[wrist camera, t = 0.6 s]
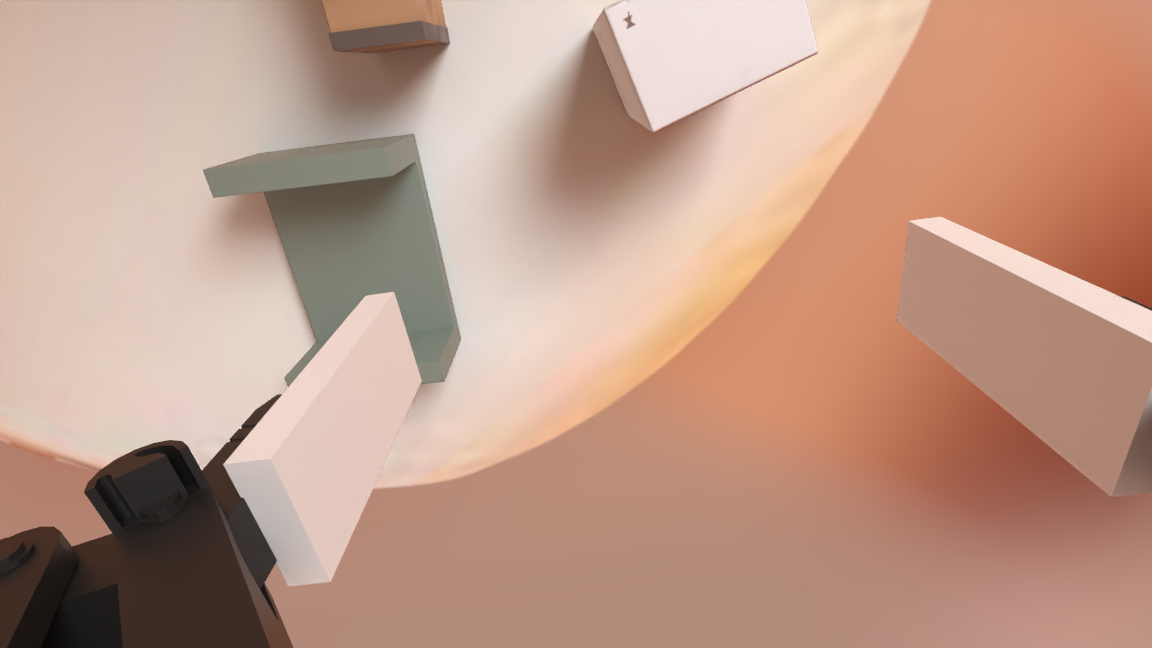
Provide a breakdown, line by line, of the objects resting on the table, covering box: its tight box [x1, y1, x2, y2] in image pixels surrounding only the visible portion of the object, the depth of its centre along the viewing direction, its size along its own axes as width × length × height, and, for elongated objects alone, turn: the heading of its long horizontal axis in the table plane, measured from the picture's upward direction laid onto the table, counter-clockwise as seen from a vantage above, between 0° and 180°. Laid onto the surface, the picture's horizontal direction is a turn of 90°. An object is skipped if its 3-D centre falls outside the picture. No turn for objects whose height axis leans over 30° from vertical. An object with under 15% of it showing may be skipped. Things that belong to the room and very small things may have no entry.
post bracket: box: [203, 134, 461, 387], centre depth 35 cm, size 14×10×6 cm
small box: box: [593, 0, 818, 133], centre depth 28 cm, size 8×6×10 cm
